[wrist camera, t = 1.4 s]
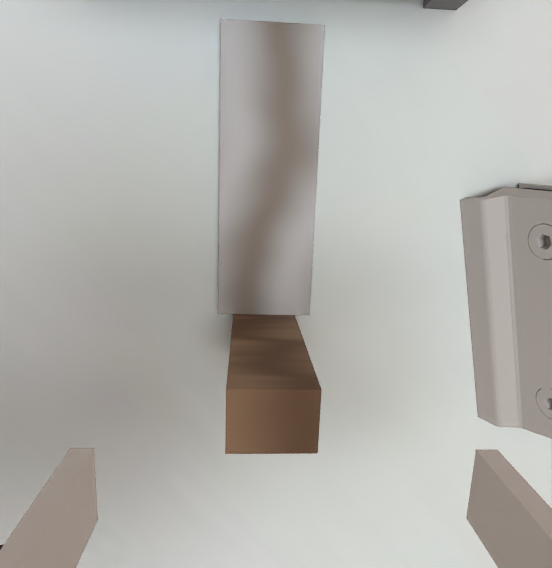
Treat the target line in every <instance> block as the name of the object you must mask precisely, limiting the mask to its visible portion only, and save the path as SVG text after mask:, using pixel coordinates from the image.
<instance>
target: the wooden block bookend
mask: <svg viewBox="0 0 552 568" xmlns="http://www.w3.org/2000/svg"><path fill="white" fill-rule="evenodd" d="M324 34H325V25H315V24H299V23H282V22H266V21H250V20H233V19H221V63H220V172H219V281H218V314H234V315H233V325H232V335H231V346H230V356H229V366H228V376H227V387H226V446H225V454H281V453H318V436H319V420H320V404H321V387H320V385H319V382H318V379H317V376H316V373H315V371H314V368H313V365H312V362H311V360H310V357H309V354H308V351H307V348H306V346H305V343H304V340H303V337H302V335H301V332H300V329H299V326H298V324H297V321H296V318H295V315H310V296H311V277H312V258H313V240H314V221H315V202H316V184H317V165H318V146H319V127H320V109H321V90H322V71H323V52H324Z"/></svg>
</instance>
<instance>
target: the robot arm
mask: <svg viewBox="0 0 552 568" xmlns="http://www.w3.org/2000/svg"><path fill="white" fill-rule="evenodd" d="M97 520H98V517H97V498H96V479H95V461H94V448H70V449H69V451H68V452H67V454H66V455H65V457H64V458H63V460H62V461H61V463H60V464H59V465H58V467H57V468H56V470H55V471H54V473H53V474H52V476H51V477H50V479H49V480H48V481H47V483H46V484H45V486H44V487H43V489H42V490H41V492H40V493H39V495H38V496H37V497H36V499H35V500H34V502H33V503H32V505H31V506H30V508H29V509H28V511H27V512H26V513H25V515H24V516H23V518H22V519H21V521H20V522H19V524H18V525H17V527H16V528H15V529H14V531H13V532H12V534H11V535H10V537H9V538H8V540H7V541H6V543H5V544H4V545H0V568H76V566H77V564H78V562H79V559H80V557H81V555H82V553H83V551H84V549H85V546H86V544H87V542H88V540H89V538H90V535H91V533H92V531H93V529H94V527H95V525H96V522H97ZM467 520H468V521H469V523H470V524H471V526H472V528H473V529H474V531H475V532H476V534H477V535H478V537H479V538H480V540H481V542H482V543H483V545H484V546H485V548H486V549H487V551H488V552H489V554H490V556H491V557H492V559H493V560H494V562H495V563H496V565H497V567H498V568H552V509H551V507H550V506H549V505H548V504H547V503H546V502H545V501H544V500H543V499H542V498H541V497H540V496H539V494H538V493H537V492H536V491H535V490H534V489H533V488H532V487H531V486H530V485H529V484H528V482H527V481H526V480H525V479H524V478H523V477H522V476H521V475H520V474H519V473H518V472H517V471H516V469H515V468H514V467H513V466H512V465H511V464H510V463H509V462H508V461H507V460H506V459H505V458H504V456H503V455H502V454H501V453H500V452H499V451H498V450H476V454H475V461H474V468H473V475H472V482H471V489H470V496H469V503H468V510H467Z"/></svg>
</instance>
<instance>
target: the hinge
mask: <svg viewBox="0 0 552 568" xmlns="http://www.w3.org/2000/svg"><path fill="white" fill-rule="evenodd" d="M460 205H461V217H462V229H463V241H464V253H465V265H466V277H467V289H468V302H469V314H470V326H471V338H472V350H473V362H474V374H475V386H476V398H477V410H478V417H479V418H481V419H483V420H485V421H487V422H489V423H491V424H493V425H495V426H498V427H516V428H523V429H526V430H529V431H531V432H534V433H537V434H540V435H543V436H546V437H549V438H551V439H552V186H547V185H535V184H520V183H519V188H510V187H503V188H501V189H499V190H497V191H495V192H493V193H491V194H489V195H487V196H485V197H467V198H464V199H462V200H460Z"/></svg>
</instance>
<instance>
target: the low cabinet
mask: <svg viewBox="0 0 552 568" xmlns="http://www.w3.org/2000/svg"><path fill="white" fill-rule="evenodd" d="M466 1H468V0H424V8H433V9H448V10H457V9H458V8H459V7H460V6H461V5H463V4H464V3H465V2H466Z"/></svg>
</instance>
